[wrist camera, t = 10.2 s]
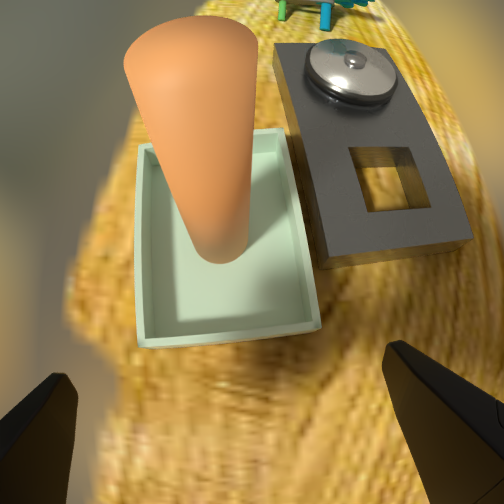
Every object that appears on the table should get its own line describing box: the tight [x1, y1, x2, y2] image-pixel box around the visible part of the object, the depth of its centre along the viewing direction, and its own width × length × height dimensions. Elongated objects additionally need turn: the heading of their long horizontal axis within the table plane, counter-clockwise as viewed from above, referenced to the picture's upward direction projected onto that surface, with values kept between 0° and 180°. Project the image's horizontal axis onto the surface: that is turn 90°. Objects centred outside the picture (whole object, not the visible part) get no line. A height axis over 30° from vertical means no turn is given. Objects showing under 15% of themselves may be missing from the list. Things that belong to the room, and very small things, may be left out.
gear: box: [275, 0, 375, 31], centre depth 25 cm, size 11×6×10 cm
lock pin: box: [124, 16, 258, 264], centre depth 13 cm, size 3×3×13 cm
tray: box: [134, 128, 322, 349], centre depth 18 cm, size 12×9×2 cm
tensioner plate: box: [272, 39, 474, 270], centre depth 20 cm, size 18×10×5 cm, turn 7°
